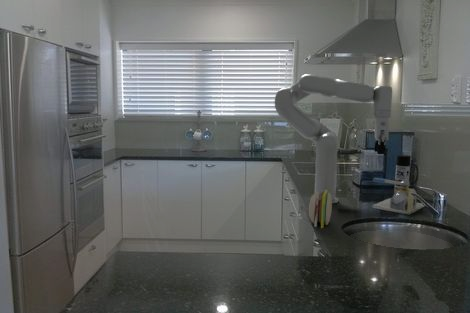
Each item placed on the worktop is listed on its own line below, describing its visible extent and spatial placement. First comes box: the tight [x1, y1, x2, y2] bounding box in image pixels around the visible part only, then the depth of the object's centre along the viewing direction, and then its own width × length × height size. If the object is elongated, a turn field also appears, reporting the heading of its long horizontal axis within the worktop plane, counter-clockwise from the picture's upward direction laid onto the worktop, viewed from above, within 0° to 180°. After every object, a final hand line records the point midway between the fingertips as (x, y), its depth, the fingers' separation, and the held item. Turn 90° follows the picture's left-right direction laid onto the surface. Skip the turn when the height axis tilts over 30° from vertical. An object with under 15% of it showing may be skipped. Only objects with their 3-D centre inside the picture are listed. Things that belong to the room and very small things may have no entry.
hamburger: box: [308, 190, 333, 229], centre depth 163 cm, size 12×8×12 cm
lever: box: [372, 177, 410, 187], centre depth 194 cm, size 16×4×2 cm, turn 50°
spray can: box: [393, 154, 411, 194], centre depth 219 cm, size 7×7×20 cm
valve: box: [372, 186, 425, 215], centre depth 192 cm, size 20×16×10 cm
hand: (379, 152), depth 192 cm, fingers open, 9 cm apart
